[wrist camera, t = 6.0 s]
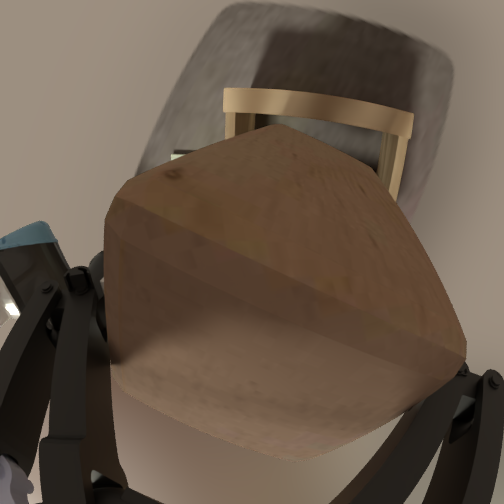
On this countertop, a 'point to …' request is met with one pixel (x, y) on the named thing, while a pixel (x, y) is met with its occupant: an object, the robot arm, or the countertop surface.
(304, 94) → the crate
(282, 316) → the wooden block
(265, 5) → the countertop surface
